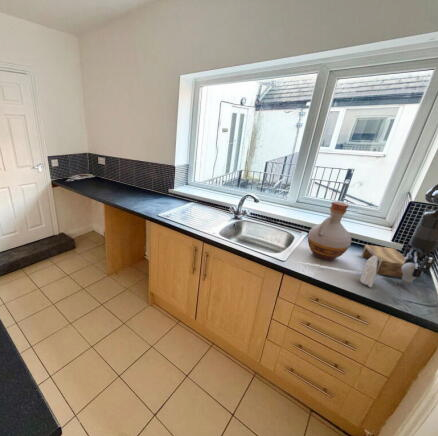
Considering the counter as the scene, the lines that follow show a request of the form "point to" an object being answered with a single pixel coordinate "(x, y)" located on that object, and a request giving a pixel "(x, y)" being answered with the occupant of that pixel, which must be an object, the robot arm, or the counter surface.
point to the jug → (330, 235)
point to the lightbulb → (408, 273)
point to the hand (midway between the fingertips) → (410, 272)
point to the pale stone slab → (369, 271)
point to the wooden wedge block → (386, 260)
